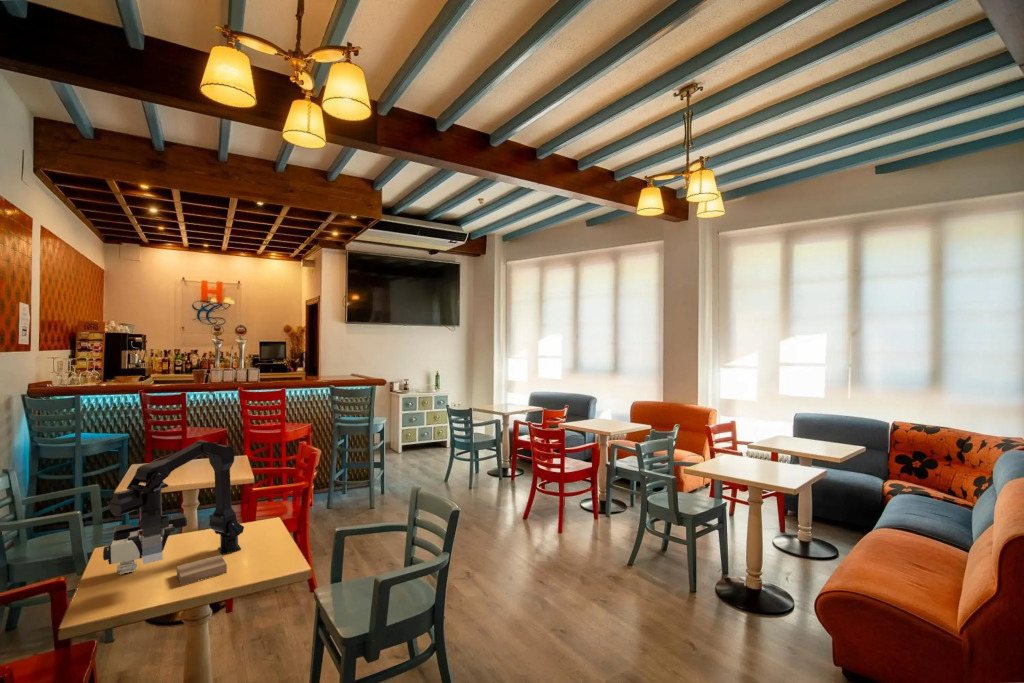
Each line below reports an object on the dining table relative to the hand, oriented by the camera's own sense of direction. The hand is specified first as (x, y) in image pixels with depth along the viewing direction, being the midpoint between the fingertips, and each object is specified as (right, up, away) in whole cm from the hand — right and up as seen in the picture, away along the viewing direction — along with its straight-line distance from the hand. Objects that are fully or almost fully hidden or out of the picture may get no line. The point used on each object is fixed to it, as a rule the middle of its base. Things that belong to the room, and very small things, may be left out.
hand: (152, 552), depth 160 cm
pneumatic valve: (-15, -11, +10) cm, 21 cm away
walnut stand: (+11, -11, +8) cm, 17 cm away
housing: (0, -1, 0) cm, 1 cm away
